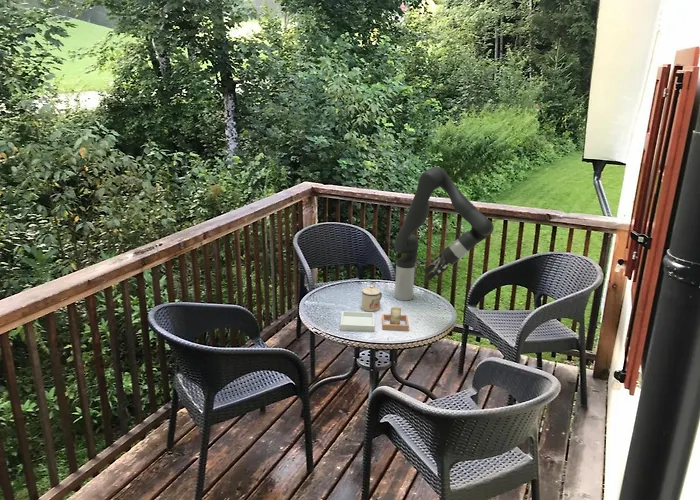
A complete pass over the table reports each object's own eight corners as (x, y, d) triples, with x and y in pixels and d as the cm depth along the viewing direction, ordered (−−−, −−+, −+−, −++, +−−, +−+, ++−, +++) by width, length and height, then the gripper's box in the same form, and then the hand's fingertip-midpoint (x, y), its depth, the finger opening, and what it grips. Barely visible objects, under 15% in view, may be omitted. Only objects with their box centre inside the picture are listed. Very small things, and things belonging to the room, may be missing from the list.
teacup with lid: (370, 313, 266) (371, 290, 263) (357, 307, 272) (358, 285, 269) (387, 307, 274) (389, 285, 271) (374, 301, 280) (375, 279, 277)
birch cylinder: (389, 322, 257) (390, 306, 255) (399, 323, 257) (400, 306, 255) (390, 326, 253) (391, 310, 250) (400, 327, 253) (401, 311, 250)
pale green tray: (341, 316, 262) (341, 311, 261) (373, 318, 261) (374, 312, 260) (340, 330, 247) (340, 324, 246) (374, 332, 247) (374, 326, 246)
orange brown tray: (381, 319, 261) (382, 314, 260) (406, 320, 260) (407, 315, 260) (382, 329, 249) (382, 324, 249) (408, 331, 249) (408, 325, 249)
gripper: (447, 241, 250) (419, 264, 253) (451, 250, 236) (422, 275, 240) (458, 253, 251) (430, 276, 255) (463, 263, 238) (433, 287, 241)
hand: (426, 275), depth 247 cm, fingers open, 8 cm apart
